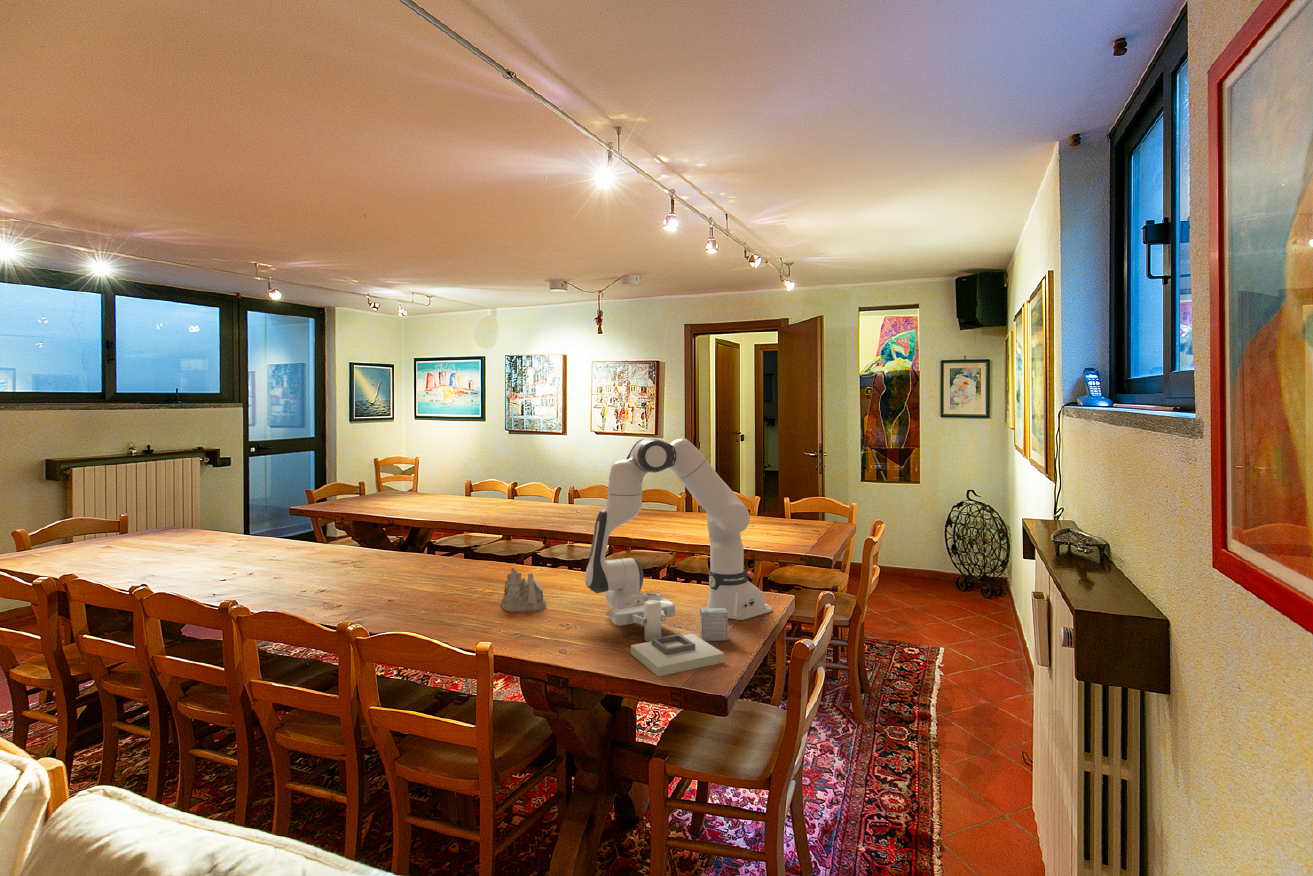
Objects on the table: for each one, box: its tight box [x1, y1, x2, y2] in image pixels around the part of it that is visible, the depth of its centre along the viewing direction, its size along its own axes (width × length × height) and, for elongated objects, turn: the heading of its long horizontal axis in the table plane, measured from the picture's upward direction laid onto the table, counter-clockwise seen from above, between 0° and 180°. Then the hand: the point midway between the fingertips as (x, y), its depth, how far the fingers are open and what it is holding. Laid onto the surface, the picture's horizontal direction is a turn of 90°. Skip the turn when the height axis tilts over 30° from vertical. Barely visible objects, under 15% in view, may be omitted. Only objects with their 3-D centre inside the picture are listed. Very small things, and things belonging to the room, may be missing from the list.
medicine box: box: [699, 607, 729, 642], centre depth 193 cm, size 8×4×9 cm, turn 92°
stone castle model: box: [500, 566, 547, 613], centre depth 227 cm, size 16×16×15 cm
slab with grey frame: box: [630, 633, 725, 677], centre depth 178 cm, size 20×17×4 cm
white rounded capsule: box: [643, 600, 662, 642], centre depth 191 cm, size 5×5×11 cm
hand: (654, 620), depth 190 cm, fingers closed on white rounded capsule, 5 cm apart
